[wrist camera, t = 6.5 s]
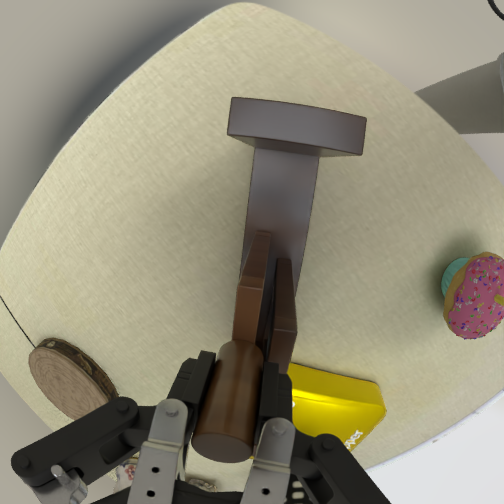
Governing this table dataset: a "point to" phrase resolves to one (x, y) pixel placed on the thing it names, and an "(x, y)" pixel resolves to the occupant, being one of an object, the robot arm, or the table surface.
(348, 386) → the element tile
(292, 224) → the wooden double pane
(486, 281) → the cupcake
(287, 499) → the spotted tube
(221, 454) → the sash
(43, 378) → the brown flat banded disc
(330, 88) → the table surface
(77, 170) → the table surface
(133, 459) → the chinaware
